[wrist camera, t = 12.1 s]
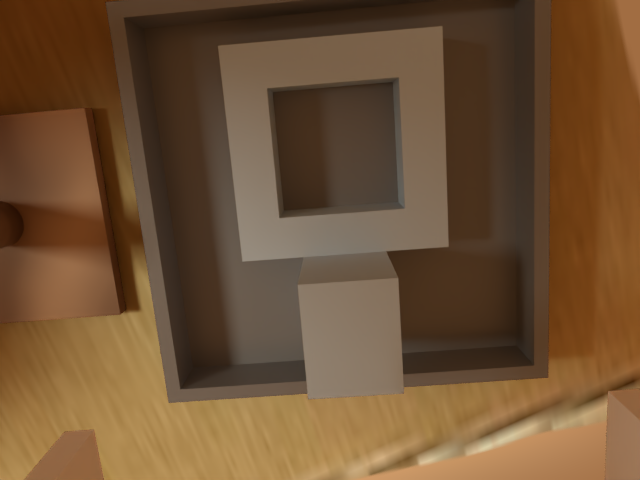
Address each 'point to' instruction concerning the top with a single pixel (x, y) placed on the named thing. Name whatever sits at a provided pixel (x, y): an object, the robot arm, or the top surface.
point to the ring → (343, 221)
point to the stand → (55, 220)
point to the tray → (339, 188)
